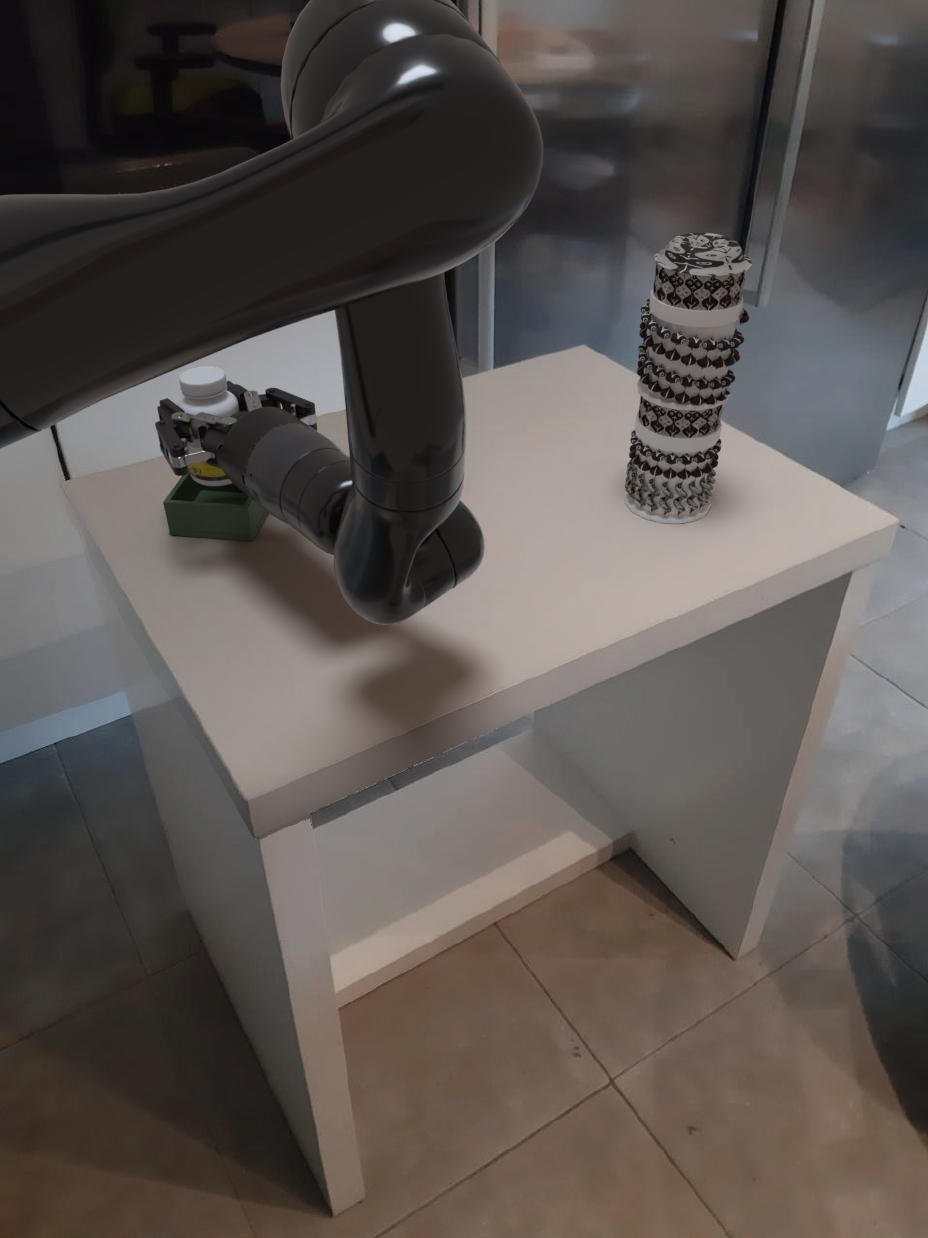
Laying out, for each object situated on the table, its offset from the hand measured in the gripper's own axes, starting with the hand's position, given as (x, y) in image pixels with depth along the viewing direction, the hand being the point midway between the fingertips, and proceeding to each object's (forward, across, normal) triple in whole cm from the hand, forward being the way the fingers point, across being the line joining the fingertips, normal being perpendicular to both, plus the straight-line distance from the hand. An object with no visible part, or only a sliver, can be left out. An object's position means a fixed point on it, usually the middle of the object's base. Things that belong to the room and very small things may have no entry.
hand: (195, 400), depth 89 cm
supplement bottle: (-3, 0, +7) cm, 7 cm away
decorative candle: (-27, -35, +12) cm, 46 cm away
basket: (-2, 0, +11) cm, 11 cm away
